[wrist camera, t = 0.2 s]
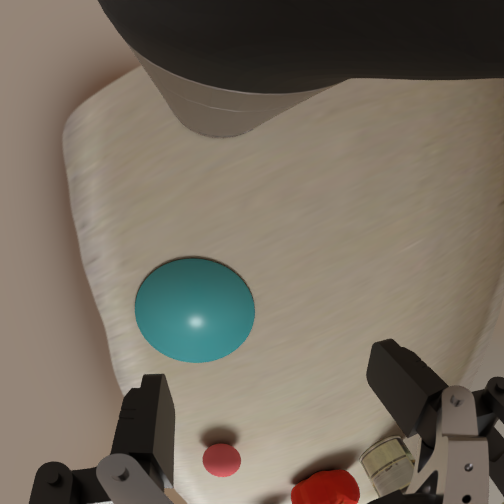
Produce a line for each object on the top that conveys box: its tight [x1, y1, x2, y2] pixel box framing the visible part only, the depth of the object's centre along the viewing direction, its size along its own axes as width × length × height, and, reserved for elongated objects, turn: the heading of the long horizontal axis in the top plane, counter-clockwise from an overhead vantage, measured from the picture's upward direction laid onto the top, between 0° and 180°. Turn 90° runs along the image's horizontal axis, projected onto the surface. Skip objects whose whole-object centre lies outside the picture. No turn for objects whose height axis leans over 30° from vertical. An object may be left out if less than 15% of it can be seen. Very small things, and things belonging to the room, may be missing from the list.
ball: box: [203, 443, 241, 477], centre depth 33 cm, size 6×6×6 cm
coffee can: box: [360, 436, 415, 498], centre depth 39 cm, size 10×10×14 cm
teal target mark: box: [135, 258, 255, 363], centre depth 28 cm, size 12×12×1 cm
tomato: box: [291, 470, 360, 504], centre depth 40 cm, size 14×13×10 cm
